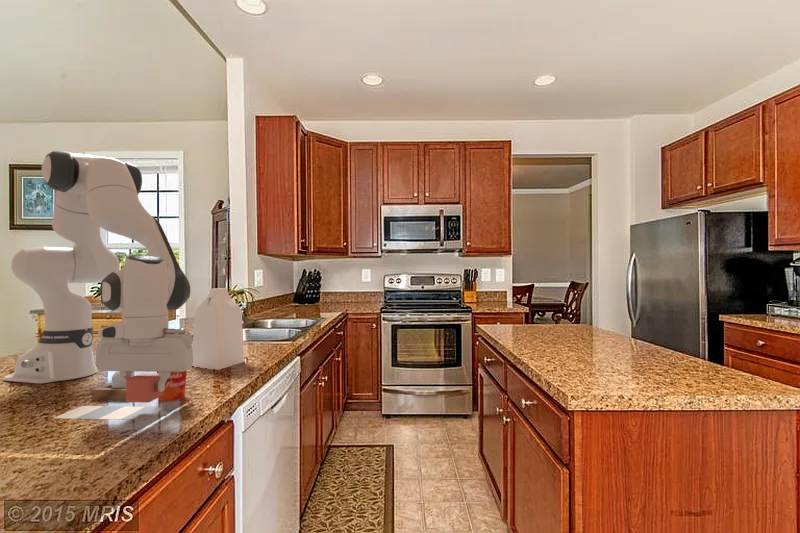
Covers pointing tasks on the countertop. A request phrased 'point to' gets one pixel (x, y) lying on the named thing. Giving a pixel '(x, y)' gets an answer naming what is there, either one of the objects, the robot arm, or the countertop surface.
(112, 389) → the button box
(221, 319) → the milk
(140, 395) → the red block
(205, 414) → the countertop surface
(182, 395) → the paper cup
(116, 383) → the dome
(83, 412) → the track
